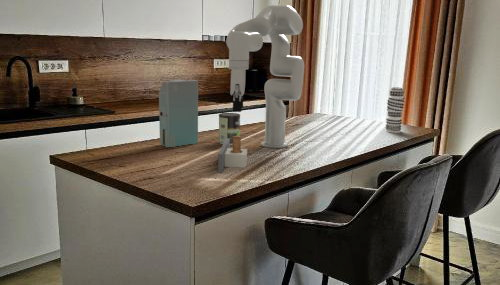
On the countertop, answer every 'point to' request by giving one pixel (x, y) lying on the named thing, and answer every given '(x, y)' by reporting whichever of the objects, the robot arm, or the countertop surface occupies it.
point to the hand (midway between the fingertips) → (238, 109)
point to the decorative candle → (395, 110)
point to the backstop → (223, 155)
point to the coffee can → (228, 126)
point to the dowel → (236, 144)
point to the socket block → (235, 158)
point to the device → (178, 113)
